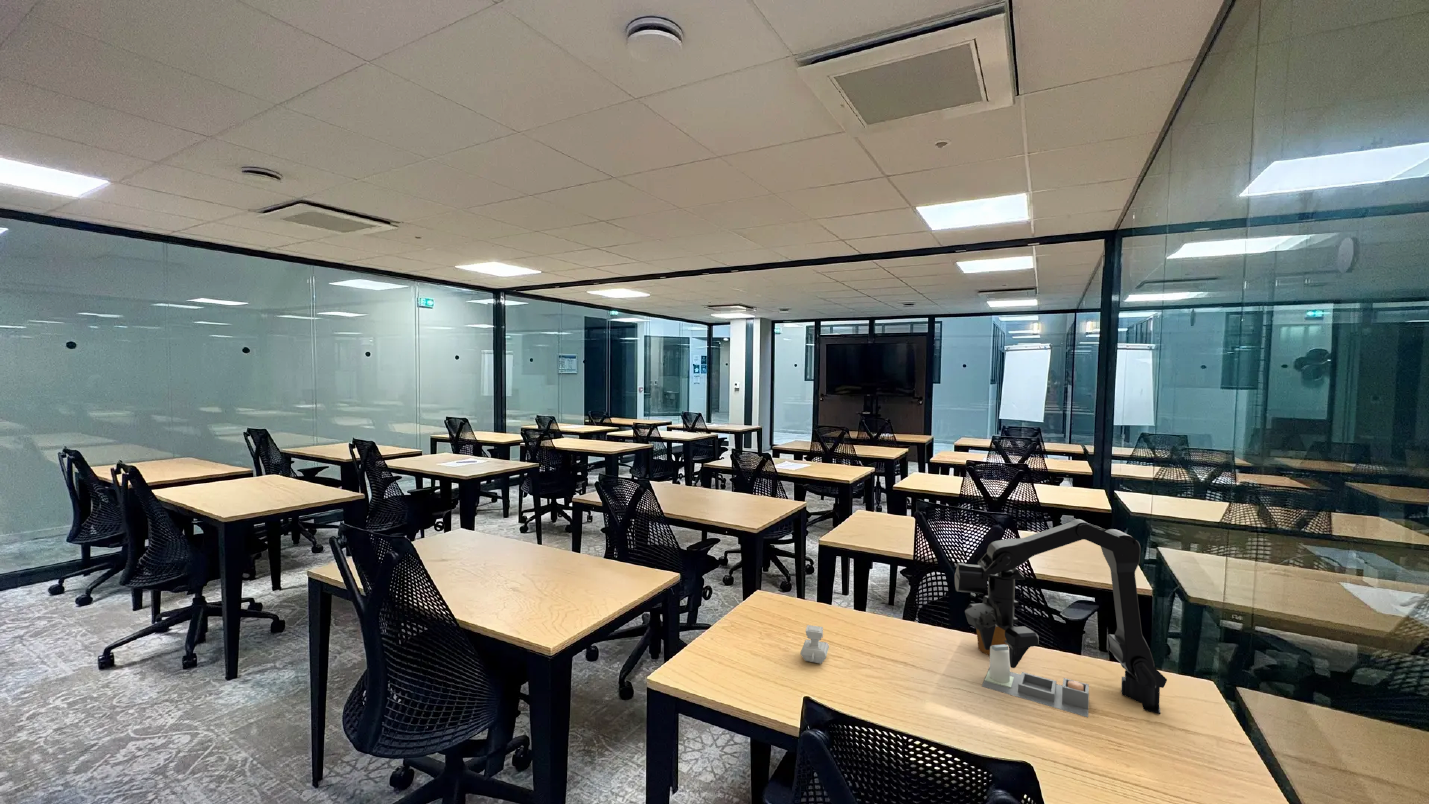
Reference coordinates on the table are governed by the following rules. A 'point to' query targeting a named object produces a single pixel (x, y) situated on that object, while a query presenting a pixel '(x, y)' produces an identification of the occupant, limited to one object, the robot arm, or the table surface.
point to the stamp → (814, 645)
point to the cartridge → (999, 663)
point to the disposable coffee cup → (997, 639)
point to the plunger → (1075, 685)
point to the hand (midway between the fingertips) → (999, 658)
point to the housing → (1043, 691)
